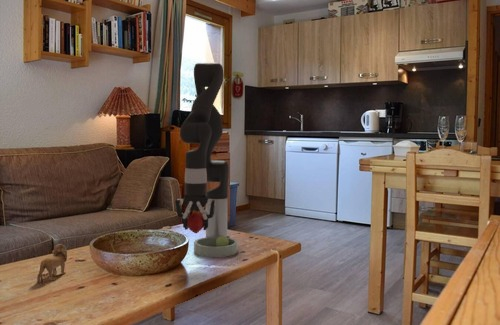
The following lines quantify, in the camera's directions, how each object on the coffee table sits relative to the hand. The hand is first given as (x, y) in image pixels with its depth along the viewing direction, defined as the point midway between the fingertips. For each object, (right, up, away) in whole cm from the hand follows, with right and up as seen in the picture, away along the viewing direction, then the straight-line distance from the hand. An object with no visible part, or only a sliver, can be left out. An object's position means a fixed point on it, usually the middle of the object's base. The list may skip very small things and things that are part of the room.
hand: (195, 229), depth 150 cm
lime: (+8, -10, +16) cm, 20 cm away
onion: (0, -2, 0) cm, 2 cm away
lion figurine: (-42, -12, -16) cm, 47 cm away
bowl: (+6, -11, +13) cm, 18 cm away
